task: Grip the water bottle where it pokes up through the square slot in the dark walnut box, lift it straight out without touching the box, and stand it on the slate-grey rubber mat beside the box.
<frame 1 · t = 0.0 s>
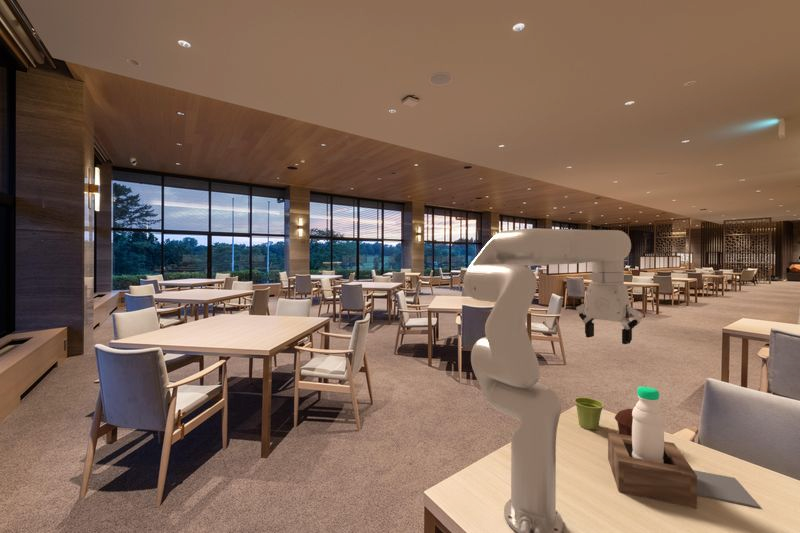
hand: (607, 340, 96), 37 cm above the table, tool pointing down, fingers open, 9 cm apart
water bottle: (647, 481, 93), resting in slot box
plant pot: (588, 426, 124), on the table
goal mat: (716, 486, 90), on the table
slot box: (647, 480, 93), on the table
muffin: (635, 442, 113), on the table
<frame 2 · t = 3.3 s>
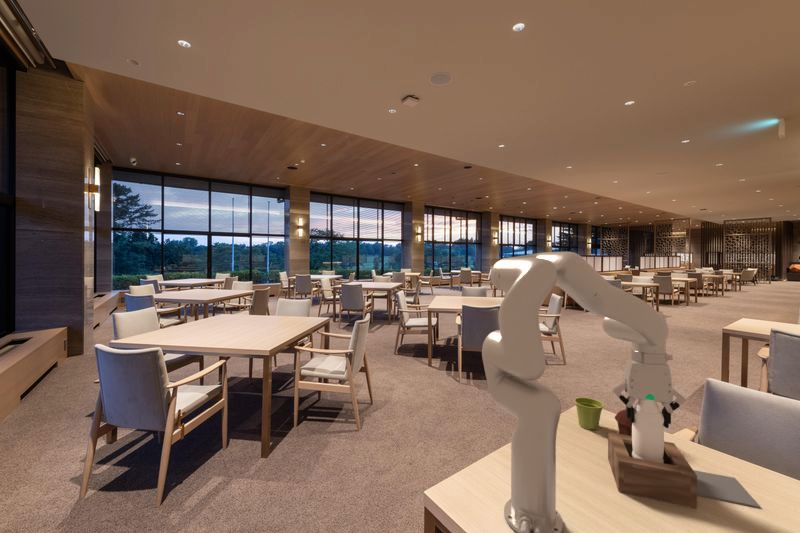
hand: (647, 422, 92), 16 cm above the table, tool pointing down, fingers closed on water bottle, 7 cm apart
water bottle: (647, 481, 93), resting in slot box, touching gripper
everything else where it was.
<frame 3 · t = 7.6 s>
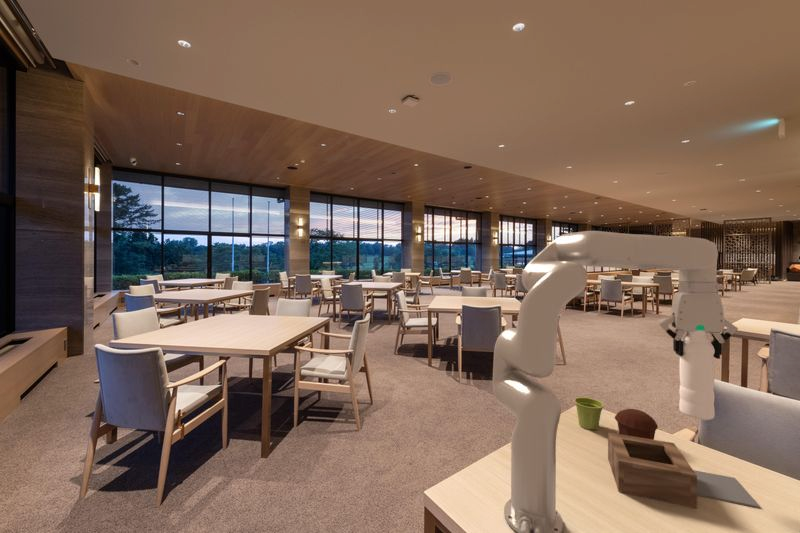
hand: (696, 355, 90), 34 cm above the table, tool pointing down, fingers closed on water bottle, 7 cm apart
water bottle: (696, 415, 91), point 18 cm above the table, touching gripper
everything else where it was.
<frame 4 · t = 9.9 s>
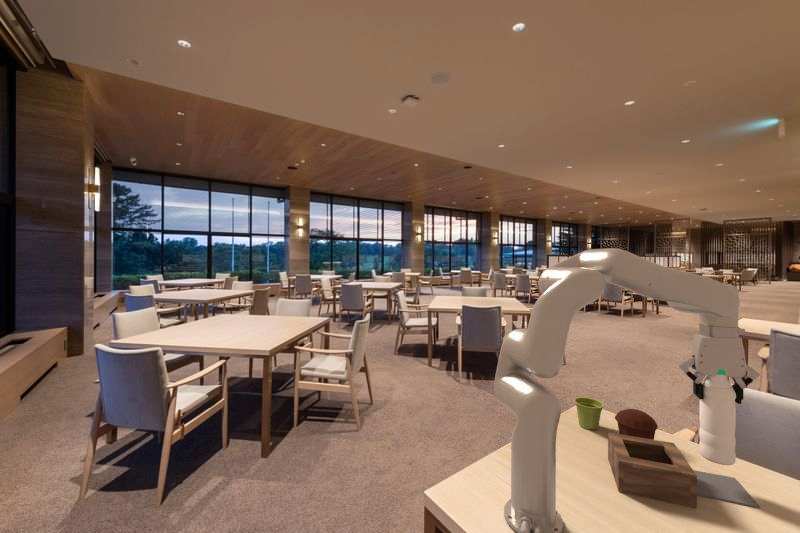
hand: (717, 399, 90), 23 cm above the table, tool pointing down, fingers closed on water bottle, 7 cm apart
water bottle: (716, 459, 90), point 7 cm above the table, touching gripper
everything else where it was.
when the fingers open (17 cm above the table, at t = 12.0 s): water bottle drops 1 cm, resting on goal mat.
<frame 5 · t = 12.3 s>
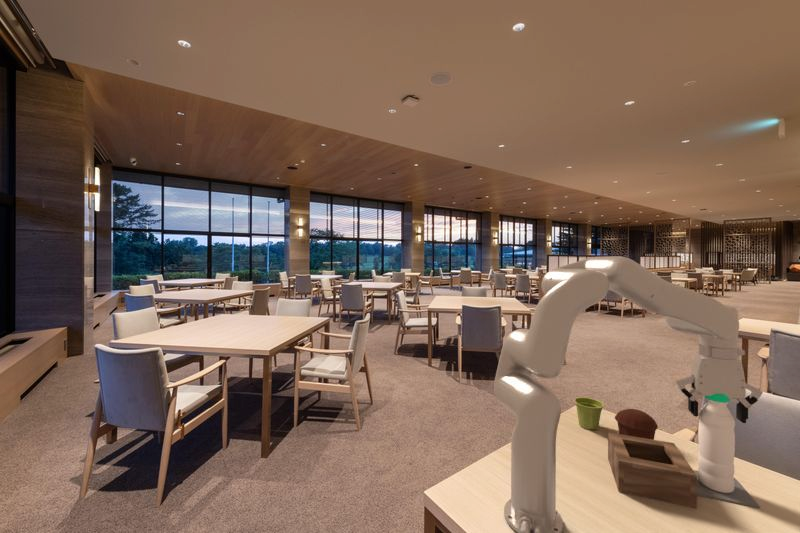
hand: (717, 417, 90), 18 cm above the table, tool pointing down, fingers open, 9 cm apart
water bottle: (715, 486, 90), resting on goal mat
everything else where it was.
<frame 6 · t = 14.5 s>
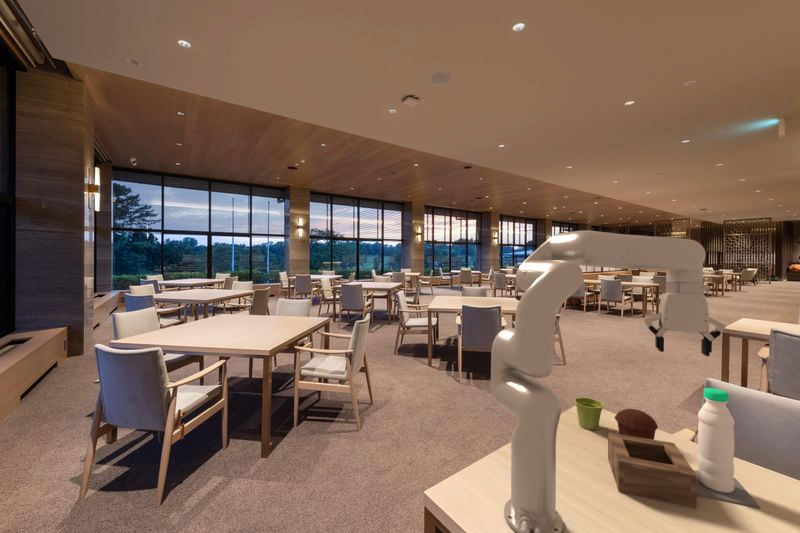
hand: (682, 352, 92), 35 cm above the table, tool pointing down, fingers open, 9 cm apart
nothing on the table moved.
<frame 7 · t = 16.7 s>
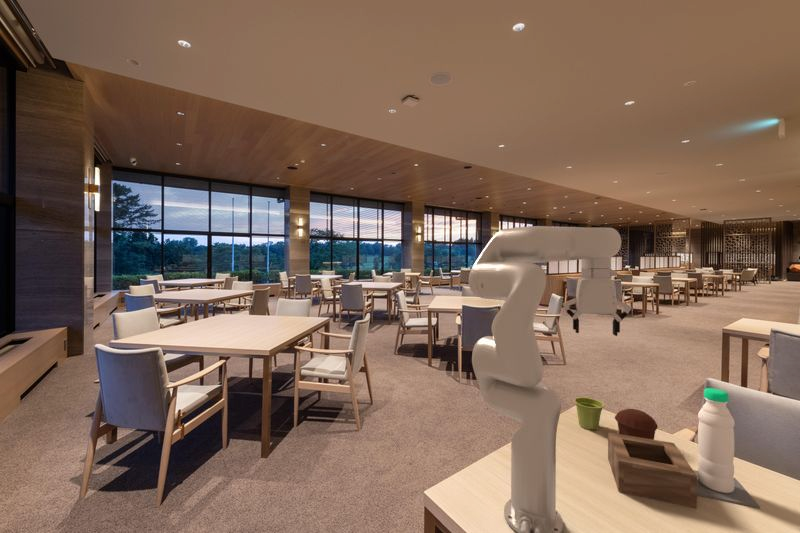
hand: (595, 333, 100), 38 cm above the table, tool pointing down, fingers open, 9 cm apart
nothing on the table moved.
at the end: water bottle inside the target area on the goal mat (0.4 cm from its centre), point 0.2 cm above the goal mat's base; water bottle tilted 0°; the gripper is holding nothing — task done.
